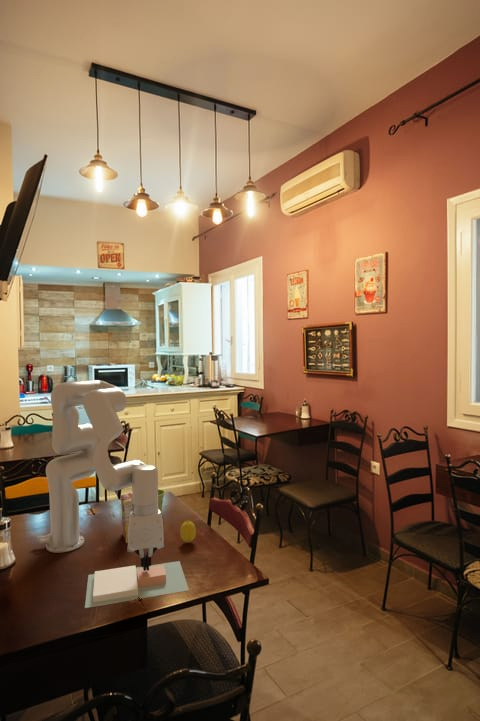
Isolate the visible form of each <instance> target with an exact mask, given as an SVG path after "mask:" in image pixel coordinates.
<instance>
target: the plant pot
mask: <svg viewBox="0 0 480 721" xmlns="http://www.w3.org/2000/svg"><path fill="white" fill-rule="evenodd" d="M165 494H166V491H165V490H164V489H160V488H158V509H159V510H160V511H161V513H162V512H163V502H164V501H163V500H164V496H165Z"/></svg>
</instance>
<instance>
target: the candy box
mask: <svg viewBox="0 0 480 721" xmlns="http://www.w3.org/2000/svg"><path fill="white" fill-rule="evenodd" d="M120 502H121V504H120V505H121V523H122V524H121V525H122V526H121V528H122V535H123V538H124V540H125V543H126V544H128V526H129V518H130V513H131V512H132V511H130V510H127V506H129V505H131V504H132V492H128V493H121V494H120Z"/></svg>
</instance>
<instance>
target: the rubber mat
mask: <svg viewBox="0 0 480 721" xmlns="http://www.w3.org/2000/svg"><path fill="white" fill-rule="evenodd" d="M160 565H164V568H165V572H166V583H163V584H157V585H151V586H145V587H139V588H138V595H135V596H129V597H123V598H117V599H111V600H105V601H99V602H93V589H94V576H95V573H93V574H92V573H91V574H88V575H87V576H88V577H87V583H86V584H87V585H86V592H85V593H86V594H85V602H84V604H85V605H84V609H89V608H94V607H95V608H96V607H99V606H106V605H112V604H117V603H118V604H119V603H123V602H129V601H136V600H141V597H142V599H146V598H147V599H148V598H153V597H159V596H164V595H169V594H170V595H171V594H176V593H180V592H181V593H182V592H188V591H189V590H190V589H189V586H188V582H187V580H186V577H185V573H184V570H183V568H182V567H183V566H182V565H181V561H180V560H178V561H177V560H176V561H171V562H164V563H163V562H162V563H159V564H151V566H149V567H154V566H160ZM141 568H143V567H141V566H137V567H136V574H137V569H141ZM137 584H138V581H137ZM140 596H141V597H140ZM138 597H140V599H139V598H138ZM137 598H138V599H137ZM135 599H136V600H135Z"/></svg>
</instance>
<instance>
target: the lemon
mask: <svg viewBox="0 0 480 721" xmlns="http://www.w3.org/2000/svg"><path fill="white" fill-rule="evenodd" d="M179 531H180V538H181V540H182V541H184V542H186V543H187V544H189V543H190V542H193V540H194V539H195V538H196V533H197V529H196V526H195V524H194V522H192V521H190V520H186V521H184V522H183V523H181V526H180V530H179Z"/></svg>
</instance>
